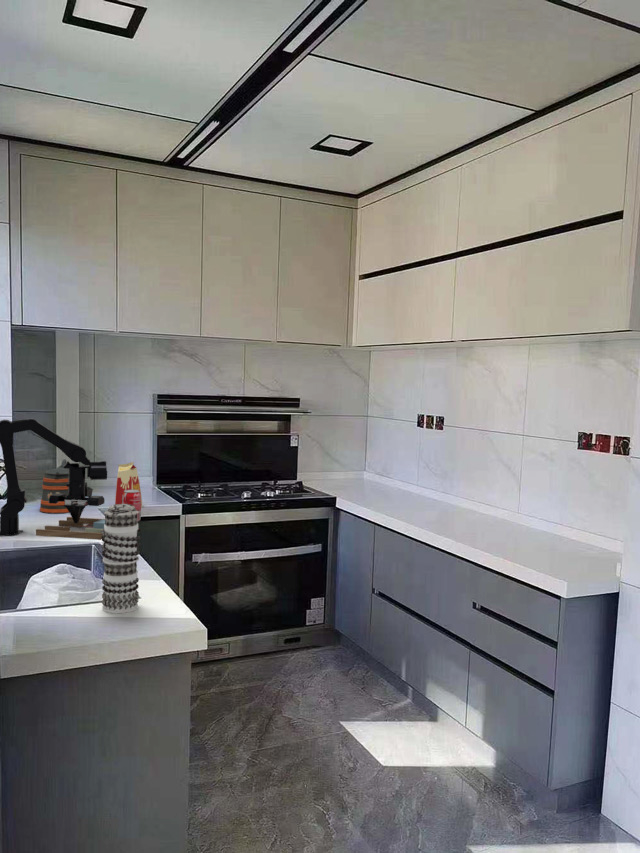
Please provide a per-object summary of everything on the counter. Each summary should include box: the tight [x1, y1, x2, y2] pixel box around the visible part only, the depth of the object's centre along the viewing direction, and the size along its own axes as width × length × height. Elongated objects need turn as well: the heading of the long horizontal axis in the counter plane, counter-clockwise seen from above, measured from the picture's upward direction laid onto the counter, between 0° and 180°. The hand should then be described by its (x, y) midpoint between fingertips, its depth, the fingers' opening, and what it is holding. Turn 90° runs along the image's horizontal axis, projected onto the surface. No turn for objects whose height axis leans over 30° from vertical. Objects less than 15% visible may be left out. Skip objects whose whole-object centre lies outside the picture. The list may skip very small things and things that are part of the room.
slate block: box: [92, 518, 105, 529], centre depth 246 cm, size 6×6×4 cm
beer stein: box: [39, 458, 78, 515], centre depth 284 cm, size 19×15×20 cm
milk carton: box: [114, 461, 144, 509], centre depth 291 cm, size 9×9×20 cm
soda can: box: [122, 490, 142, 523], centre depth 265 cm, size 7×7×12 cm
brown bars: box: [35, 516, 106, 540], centre depth 247 cm, size 23×26×3 cm
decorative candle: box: [101, 503, 142, 614], centre depth 166 cm, size 9×9×25 cm
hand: (76, 523), depth 248 cm, fingers closed
